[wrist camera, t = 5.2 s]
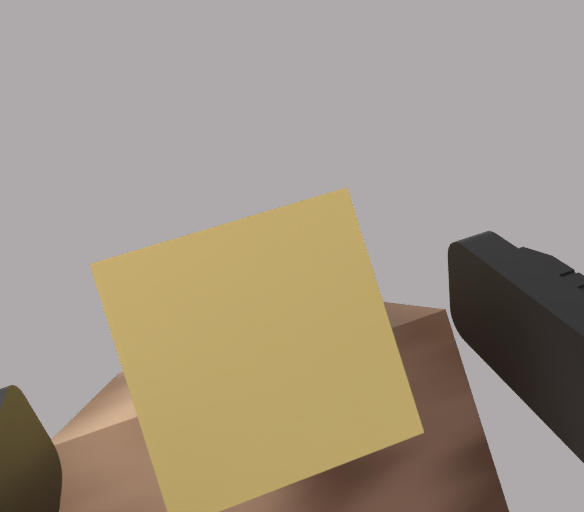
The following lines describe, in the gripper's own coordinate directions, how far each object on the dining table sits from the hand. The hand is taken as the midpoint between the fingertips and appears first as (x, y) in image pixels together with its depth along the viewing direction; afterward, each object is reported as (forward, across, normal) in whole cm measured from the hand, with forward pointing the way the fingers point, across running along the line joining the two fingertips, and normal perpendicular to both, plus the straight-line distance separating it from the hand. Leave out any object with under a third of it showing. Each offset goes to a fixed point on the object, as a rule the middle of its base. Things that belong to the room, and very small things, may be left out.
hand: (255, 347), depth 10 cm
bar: (+6, 0, +5) cm, 8 cm away
